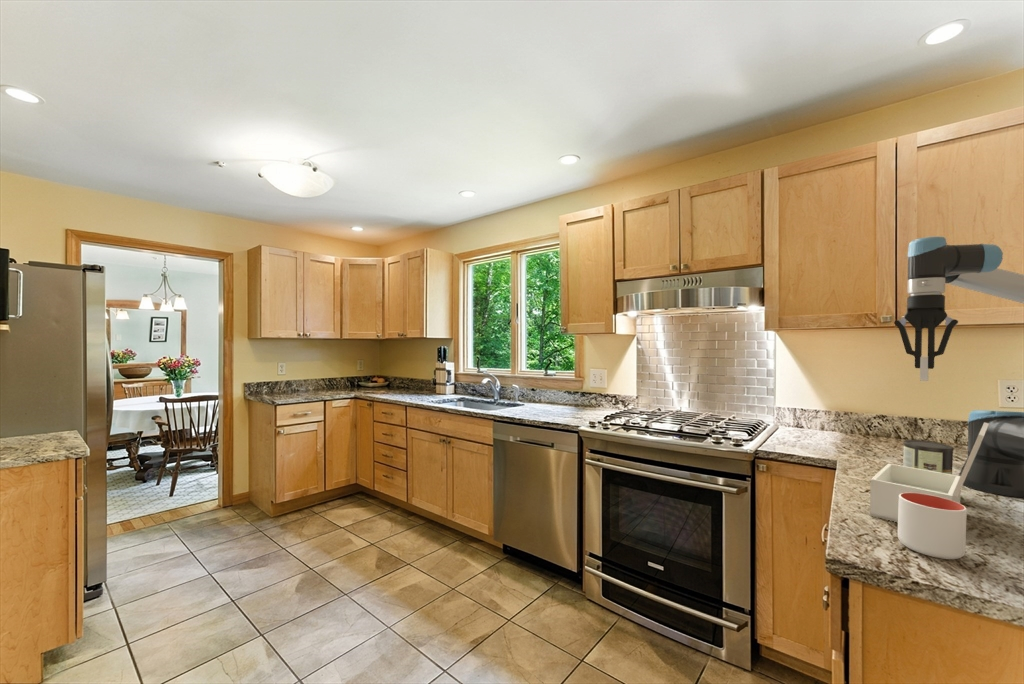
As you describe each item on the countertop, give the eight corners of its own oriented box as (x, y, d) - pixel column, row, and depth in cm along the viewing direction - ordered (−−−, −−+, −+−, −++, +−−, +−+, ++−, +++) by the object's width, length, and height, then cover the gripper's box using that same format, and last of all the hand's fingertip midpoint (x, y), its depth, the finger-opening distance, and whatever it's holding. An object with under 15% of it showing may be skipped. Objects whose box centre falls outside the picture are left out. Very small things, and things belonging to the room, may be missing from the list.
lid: (978, 434, 92) (984, 436, 91) (984, 422, 106) (989, 423, 106) (952, 494, 95) (958, 497, 94) (961, 474, 109) (966, 476, 109)
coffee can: (933, 489, 126) (935, 440, 126) (962, 502, 116) (964, 449, 116) (892, 486, 128) (894, 438, 128) (917, 498, 118) (919, 447, 118)
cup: (949, 566, 82) (951, 514, 82) (886, 542, 92) (888, 495, 91) (975, 556, 86) (977, 506, 86) (912, 535, 96) (914, 490, 95)
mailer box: (869, 515, 106) (870, 479, 105) (887, 495, 120) (888, 463, 120) (951, 536, 95) (952, 495, 95) (959, 511, 109) (961, 476, 109)
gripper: (892, 295, 121) (890, 379, 121) (959, 292, 112) (957, 383, 112) (896, 297, 126) (894, 378, 126) (960, 294, 117) (958, 381, 117)
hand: (924, 380), depth 119 cm, fingers closed
